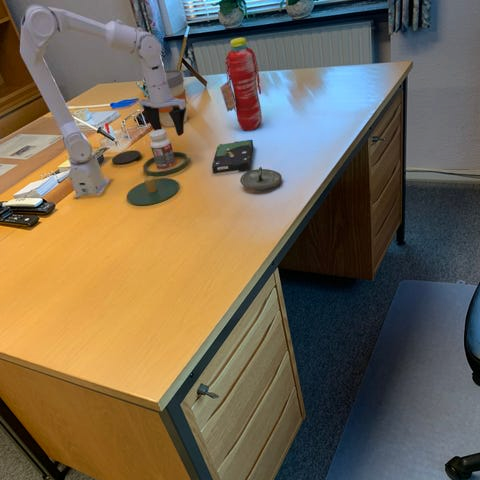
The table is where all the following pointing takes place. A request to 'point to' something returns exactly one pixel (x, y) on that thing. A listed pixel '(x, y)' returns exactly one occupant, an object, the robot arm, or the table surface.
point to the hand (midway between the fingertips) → (170, 133)
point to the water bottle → (242, 85)
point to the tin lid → (152, 191)
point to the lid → (261, 179)
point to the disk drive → (233, 157)
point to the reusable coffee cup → (173, 95)
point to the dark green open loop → (167, 172)
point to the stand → (126, 157)
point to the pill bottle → (162, 150)
